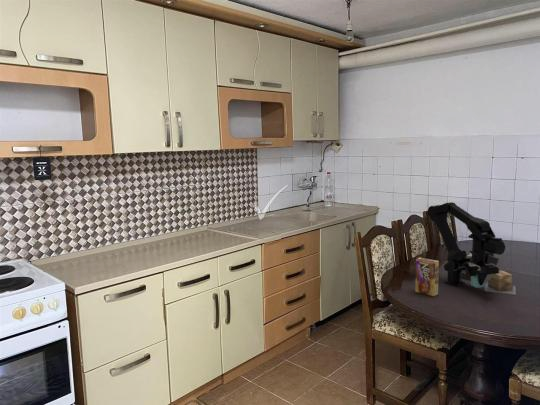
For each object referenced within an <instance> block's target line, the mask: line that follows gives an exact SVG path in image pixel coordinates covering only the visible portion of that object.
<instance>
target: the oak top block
mask: <svg viewBox="0 0 540 405" xmlns="http://www.w3.org/2000/svg"><path fill="white" fill-rule="evenodd" d="M512 278H513V275H512V274H511V273H509V272H506V271H504V270H499V274H489V279H491V280H493V281H495V282H497V283H509V282H513V281H512Z"/></svg>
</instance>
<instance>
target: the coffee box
mask: <svg viewBox="0 0 540 405" xmlns="http://www.w3.org/2000/svg"><path fill="white" fill-rule="evenodd" d="M467 256H472V254H471V253H470V252H469V253H468V254H467ZM480 269H481V268H480V267H479V269H478V270H477V271H479V270H480ZM462 279H465V280H470V281H471V276H470V274H469V272H468V270H467V268H466V270H462Z"/></svg>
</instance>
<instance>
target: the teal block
mask: <svg viewBox="0 0 540 405" xmlns="http://www.w3.org/2000/svg"><path fill="white" fill-rule="evenodd" d="M485 284H486V279H485V280H484V283H483V285H480V284H479V281H478V276H471V280H470V285H471V286H473V287H474V288H475V289H476V288H485Z"/></svg>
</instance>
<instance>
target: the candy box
mask: <svg viewBox="0 0 540 405" xmlns="http://www.w3.org/2000/svg"><path fill="white" fill-rule="evenodd" d="M439 266H440V261H439V260H437V259H436V260H435V259H430V258H423V257H417V258H416V259H415V288H414V290H415V293H417V294H418V293H419V294H423V295H426V296H427V295H428V296H432V297H436V296H437V295H438V294H439V274H440V272H439V271H440V267H439Z"/></svg>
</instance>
